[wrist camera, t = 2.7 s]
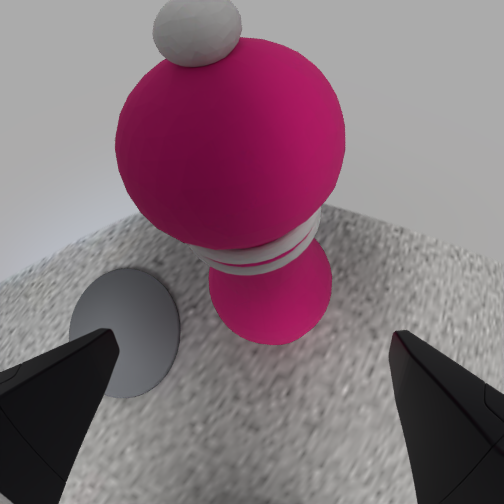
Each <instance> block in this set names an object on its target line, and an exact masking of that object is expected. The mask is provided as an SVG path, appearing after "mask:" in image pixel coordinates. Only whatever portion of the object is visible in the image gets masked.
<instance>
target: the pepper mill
mask: <svg viewBox="0 0 504 504" xmlns="http://www.w3.org/2000/svg"><path fill="white" fill-rule="evenodd" d="M241 31H242V25H241V16H240V14H239V12H238V10H237V8H236V7H235V6H234V4H233V3H232V2H231V1H230V0H170V1H168V2H167V3H166V4H165V5H164V6H163V8H162V9H161V10H160V12H159V13H158V15H157V17H156V19H155V21H154V26H153V39H154V42H155V44H156V46H157V48H158V50H159V52H160V53H161V54H162V55H163V56H164V57H165V58H166V59H165V60H163V61H162V62H160V63H159V64H158V65H156V66H155V67H154V68H153V69H151V70H150V71H149V72H148V73H147V74H146V75H144V77H143V78H142V79H141V80H140V81H139V83H138V84H137V85H136V86H135V88H134V89H133V90H132V92H131V93H130V94H129V96H128V98H127V100H126V102H125V104H124V106H123V108H122V111H121V113H120V116H119V121H118V127H117V132H116V138H115V152H116V158H117V164H118V169H119V172H120V175H121V178H122V180H123V182H124V185H125V188H126V190H127V192H128V194H129V196H130V197H131V199H132V200H133V202H134V203H135V205H136V206H137V208H138V209H139V211H140V212H141V213H142V214H143V215H144V216H145V217H146V218H147V219H148V220H149V221H150V222H151V223H152V224H153V225H154V226H155V227H156V228H158V229H159V230H161V231H163V232H165V233H167V234H169V235H170V236H172V237H174V238H176V239H178V240H180V241H181V242H183V243H187V244H188V245H189V246H190V248H191V250H192V251H193V252H194V253H195V254H196V255H197V257H198V258H200V259H201V260H202V261H203V262H204V263H205V264H207V265H209V266H210V270H209V290H210V295H211V299H212V302H213V305H214V307H215V309H216V311H217V313H218V314H219V316H220V317H221V319H222V320H223V322H224V323H225V324H226V325H227V326H228V327H229V328H230V329H231V330H232V331H233V332H234V333H236V334H237V335H239V336H240V337H242V338H244V339H246V340H249V341H252V342H255V343H260V344H269V345H282V344H287V343H290V342H293V341H295V340H297V339H299V338H300V337H302V336H303V335H304V334H306V333H307V332H308V331H310V330H311V329H312V328H313V327H314V326H315V325H316V324H317V323H318V322H319V320H320V319H321V318H322V316H323V314H324V313H325V311H326V309H327V306H328V304H329V301H330V296H331V287H332V274H331V268H330V264H329V261H328V259H327V256H326V254H325V252H324V250H323V249H322V247H321V246H320V244H319V243H318V242H317V241H316V239H315V238H314V236H315V234H316V232H317V230H318V227H319V224H320V218H321V205H322V204H323V203H324V202H325V201H326V199H327V198H328V197H329V195H330V194H331V192H332V191H333V190H334V188H335V186H336V182H337V179H338V176H339V174H340V170H341V167H342V163H343V158H344V153H345V124H344V119H343V115H342V111H341V107H340V104H339V101H338V98H337V96H336V94H335V92H334V90H333V89H332V87H331V85H330V83H329V82H328V80H327V79H326V78H325V76H324V75H323V74H322V72H321V71H320V70H319V69H318V68H317V67H316V66H315V65H314V64H313V63H311V62H310V61H309V60H308V59H306V58H305V57H304V56H302V55H301V54H300V53H298V52H296V51H294V50H292V49H290V48H288V47H285V46H283V45H280V44H277V43H273V42H270V41H267V40H263V39H254V38H243V37H240V35H241Z"/></svg>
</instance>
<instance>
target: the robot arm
mask: <svg viewBox="0 0 504 504" xmlns="http://www.w3.org/2000/svg"><path fill="white" fill-rule="evenodd" d="M119 353H120V349H119V345H118V343H117V340H116V337H115V335H114V332H113V331H112V329H110V328H99V329H97V330H95V331H92V332H90V333H88V334H86V335H84V336H81V337H79V338H77V339H75V340H72V341H70V342H68V343H66V344H64V345H61V346H59V347H57V348H55V349H52V350H50V351H48V352H46V353H43V354H41V355H39V356H37V357H34V358H32V359H30V360H28V361H25V362H23V363H22V364H19V365H16V366H14V367H12V368H9V369H7V370H5V371H2V372H0V504H59V501H60V498H61V495H62V493H63V490H64V487H65V485H66V482H67V479H68V476H69V474H70V471H71V469H72V466H73V464H74V461H75V459H76V457H77V454H78V452H79V449H80V447H81V445H82V442H83V440H84V438H85V435H86V433H87V431H88V429H89V426H90V424H91V422H92V420H93V417H94V415H95V413H96V411H97V409H98V406H99V404H100V402H101V400H102V398H103V396H104V394H105V391H106V389H107V387H108V384H109V381H110V378H111V376H112V373H113V370H114V367H115V365H116V362H117V359H118V357H119ZM389 364H390V370H391V376H392V382H393V389H394V395H395V401H396V406H397V410H398V413H399V417H400V421H401V425H402V429H403V433H404V437H405V442H406V446H407V450H408V455H409V460H410V464H411V469H412V474H413V480H414V485H415V491H416V496H417V502H418V504H504V394H502V393H501V392H499V391H498V390H496V389H495V388H493V387H492V386H490V385H489V384H487V383H485V382H484V381H483V380H481V379H480V378H478V377H477V376H475V375H474V374H472V373H471V372H469V371H468V370H467V369H465V368H464V367H462V366H461V365H459V364H458V363H456V362H455V361H453V360H452V359H450V358H449V357H447V356H446V355H444V354H443V353H441V352H440V351H438V350H437V349H435V348H434V347H432V346H431V345H429V344H428V343H426V342H424V341H423V340H421V339H420V338H418V337H417V336H415V335H414V334H412V333H411V332H409V331H408V330H400V331H395V332H394V333H393V336H392V340H391V345H390V350H389Z"/></svg>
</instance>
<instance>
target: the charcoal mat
mask: <svg viewBox="0 0 504 504" xmlns="http://www.w3.org/2000/svg"><path fill="white" fill-rule="evenodd" d="M99 328H110V329H112V331H113V332H114V335H115V337H116V340H117V343H118V345H119V349H120V353H119V357H118V359H117V362H116V365H115V367H114V370H113V373H112V376H111V378H110V381H109V384H108V387H107V389H106V391H105V394H104V395H106V396H110V397H115V398H130V397H136V396H139V395H142V394H144V393H146V392H148V391H150V390H151V389H153V388H154V387H155V386H157V385H158V384H159V383H160V382H161V381H162V380H163V378H164V377H165V376H166V375H167V373H168V372H169V370H170V368H171V367H172V364H173V362H174V360H175V357H176V354H177V351H178V346H179V341H180V321H179V316H178V312H177V308H176V305H175V303H174V301H173V299H172V297H171V295H170V294H169V292H168V291H167V289H166V288H165V287H164V286H163V285H162V284H161V283H160V282H159V281H158V280H156V279H155V278H154V277H152V276H151V275H149V274H147V273H145V272H143V271H140V270H136V269H118V270H114V271H111V272H108V273H106V274H104V275H102V276H101V277H99V278H98V279H96V280H95V281H94V282H93V283H92V284H91V285H90V286H89V287H88V288H87V289H86V290H85V291H84V293H83V294H82V295H81V297H80V299H79V300H78V302H77V304H76V306H75V309H74V312H73V314H72V318H71V322H70V329H69V342H70V341H72V340H75V339H77V338H79V337H81V336H84V335H86V334H88V333H90V332H92V331H95V330H97V329H99Z"/></svg>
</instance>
